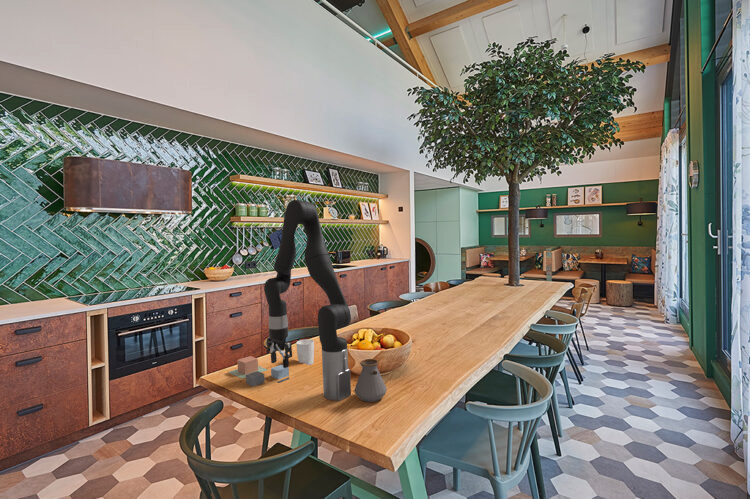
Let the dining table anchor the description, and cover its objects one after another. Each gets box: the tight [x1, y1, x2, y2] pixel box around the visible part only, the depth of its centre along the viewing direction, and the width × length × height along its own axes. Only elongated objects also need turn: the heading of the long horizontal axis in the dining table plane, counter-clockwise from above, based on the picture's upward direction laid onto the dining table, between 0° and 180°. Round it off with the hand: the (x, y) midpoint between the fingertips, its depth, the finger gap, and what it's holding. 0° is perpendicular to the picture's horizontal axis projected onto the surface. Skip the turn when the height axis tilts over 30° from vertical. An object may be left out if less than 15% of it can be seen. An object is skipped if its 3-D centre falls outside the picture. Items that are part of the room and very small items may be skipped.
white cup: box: [295, 338, 315, 366], centre depth 167 cm, size 8×8×10 cm
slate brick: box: [245, 371, 266, 387], centre depth 143 cm, size 5×5×5 cm
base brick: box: [236, 355, 259, 375], centre depth 156 cm, size 6×6×5 cm
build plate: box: [227, 365, 269, 380], centre depth 156 cm, size 12×12×2 cm
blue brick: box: [270, 364, 290, 384], centre depth 149 cm, size 5×5×5 cm
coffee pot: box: [354, 358, 387, 403], centre depth 126 cm, size 21×12×15 cm, turn 9°
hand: (279, 364), depth 150 cm, fingers open, 8 cm apart
